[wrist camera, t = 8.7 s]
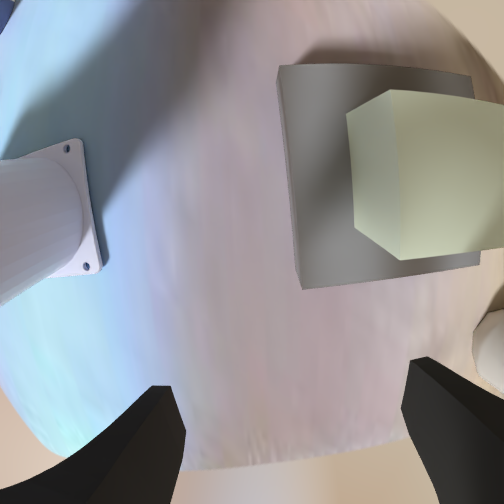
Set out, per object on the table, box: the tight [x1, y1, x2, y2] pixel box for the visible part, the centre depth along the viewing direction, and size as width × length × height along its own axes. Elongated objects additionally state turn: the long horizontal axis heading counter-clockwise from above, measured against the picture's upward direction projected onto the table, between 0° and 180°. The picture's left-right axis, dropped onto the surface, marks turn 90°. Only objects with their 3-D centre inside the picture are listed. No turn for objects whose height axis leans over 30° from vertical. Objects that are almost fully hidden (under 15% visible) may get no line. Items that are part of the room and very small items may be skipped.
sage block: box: [346, 89, 504, 260], centre depth 10 cm, size 5×5×5 cm
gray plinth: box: [276, 64, 481, 290], centre depth 14 cm, size 10×10×3 cm
